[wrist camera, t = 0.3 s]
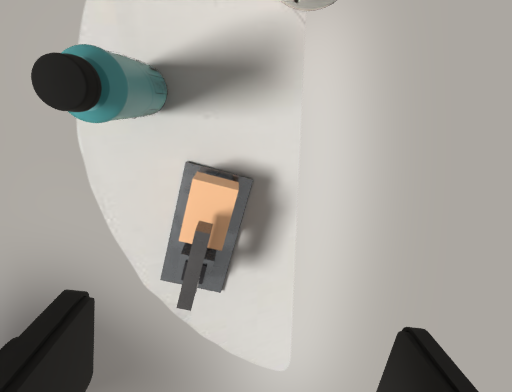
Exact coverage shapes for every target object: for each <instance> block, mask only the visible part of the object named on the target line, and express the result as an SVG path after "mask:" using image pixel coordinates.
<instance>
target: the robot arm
mask: <svg viewBox="0 0 512 392" xmlns="http://www.w3.org/2000/svg"><path fill="white" fill-rule="evenodd" d="M280 1H281V2H283V3H284V4H285V5H287V6H289V7H292V8H294V9H297V10H303V11H312V10H318V9H322V8H325V7H327V6H329V5H331V4H333V3H334V2H335V1H336V0H298V3H295V2H294V0H280ZM93 350H94V298H90V297H89V294H88V292H85V291H75V290H64V291H63V292H62V293H61V294H60V295H59V296H58V297H57V298H56V299H55V300H54V301H53V302H52V303H51V304H50V305H49V306H48V307H47V308H46V309H45V310H44V311H43V313H41V314H40V316H38V317H37V318H36V319H35V320H34V321H33V323H32V324H31V325H30V326H29V327H28V328H27V329H26V330H25V331H24V332H23V333H22V334H21V335H20V336H19V337H16V338H13V339H12V340H10V341H9V342H8V343H7V344H5V346H3V348H1V350H0V392H85V391H86V389H87V387H88V385H89V383H90V381H91V378H92V374H93V352H94V351H93ZM376 392H478V391H477V389H476V388H475V387H474V386H473V385H472V383H471V382H470V381H469V380H468V379H467V377H465V375H464V374H463V373H462V372H461V370H460V369H459V368H458V367H457V366H456V364H455V363H454V362H453V361H452V360H451V358H450V357H449V356H448V355H447V354H446V353H445V351H444V350H443V349H442V348H441V347H440V345H439V344H438V343H437V342H436V341H435V340H434V338H433V337H432V336H431V335H430V334H429V333H428V331H426V330H425V329H421V328H412V327H405V328H403V330H402V331H400V332H398V334H397V336H396V339H395V342H394V345H393V347H392V350H391V353H390V356H389V358H388V361H387V364H386V367H385V370H384V372H383V375H382V378H381V380H380V383H379V386H378V389H377V391H376Z"/></svg>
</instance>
